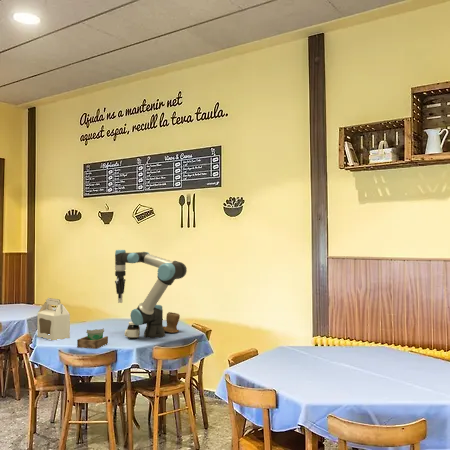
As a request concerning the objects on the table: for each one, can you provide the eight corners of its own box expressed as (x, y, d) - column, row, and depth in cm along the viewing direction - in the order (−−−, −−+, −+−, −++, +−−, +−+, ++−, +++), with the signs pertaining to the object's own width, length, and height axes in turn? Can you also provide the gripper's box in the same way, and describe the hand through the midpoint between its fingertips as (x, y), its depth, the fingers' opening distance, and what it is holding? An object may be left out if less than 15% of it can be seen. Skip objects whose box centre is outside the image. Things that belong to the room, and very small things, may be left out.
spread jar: (135, 340, 354) (135, 323, 354) (120, 339, 356) (120, 322, 357) (142, 336, 366) (142, 320, 366) (127, 336, 368) (127, 320, 368)
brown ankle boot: (182, 332, 382) (182, 312, 382) (170, 334, 374) (170, 314, 374) (170, 329, 393) (170, 310, 393) (158, 331, 385) (158, 312, 385)
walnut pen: (107, 343, 343) (107, 336, 343) (96, 348, 328) (96, 341, 328) (89, 342, 346) (89, 335, 347) (77, 347, 332) (77, 339, 332)
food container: (89, 346, 336) (89, 331, 336) (86, 344, 341) (86, 329, 341) (107, 343, 343) (107, 329, 343) (103, 342, 348) (103, 327, 348)
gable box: (37, 336, 365) (37, 298, 366) (53, 333, 375) (53, 296, 376) (53, 341, 351) (53, 301, 351) (70, 338, 361) (70, 299, 361)
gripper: (119, 269, 377) (119, 301, 377) (111, 271, 365) (111, 303, 364) (128, 270, 376) (128, 301, 375) (121, 271, 363) (121, 304, 363)
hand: (120, 302), depth 370 cm, fingers closed
